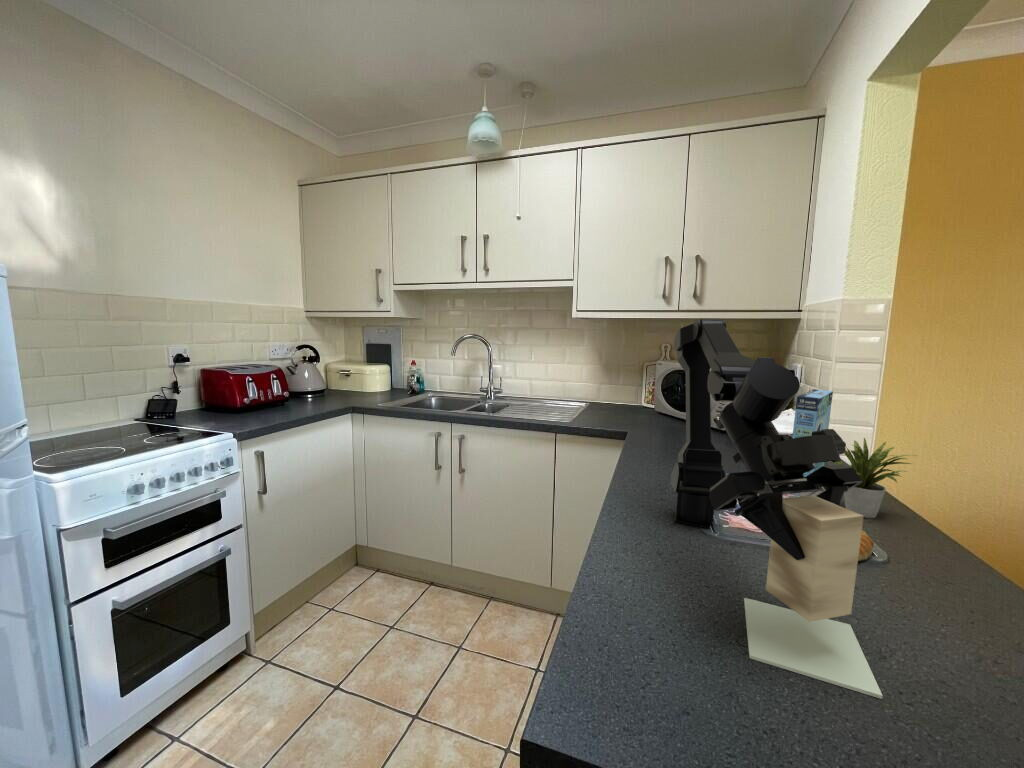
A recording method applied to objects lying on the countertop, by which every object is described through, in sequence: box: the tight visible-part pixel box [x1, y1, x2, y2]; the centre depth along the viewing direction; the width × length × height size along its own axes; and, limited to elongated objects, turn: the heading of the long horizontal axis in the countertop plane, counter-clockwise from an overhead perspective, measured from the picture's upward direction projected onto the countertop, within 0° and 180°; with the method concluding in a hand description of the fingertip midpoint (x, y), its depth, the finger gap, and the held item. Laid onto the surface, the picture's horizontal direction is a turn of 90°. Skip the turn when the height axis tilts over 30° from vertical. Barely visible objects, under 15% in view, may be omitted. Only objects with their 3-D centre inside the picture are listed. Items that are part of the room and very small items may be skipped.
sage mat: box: [743, 597, 883, 700], centre depth 51 cm, size 12×12×1 cm
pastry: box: [858, 529, 875, 562], centre depth 73 cm, size 9×7×4 cm
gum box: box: [791, 388, 834, 477], centre depth 112 cm, size 20×5×23 cm, turn 134°
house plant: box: [829, 437, 918, 519], centre depth 88 cm, size 14×14×16 cm
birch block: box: [765, 495, 865, 622], centre depth 50 cm, size 6×6×12 cm
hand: (823, 556), depth 49 cm, fingers closed on birch block, 6 cm apart
